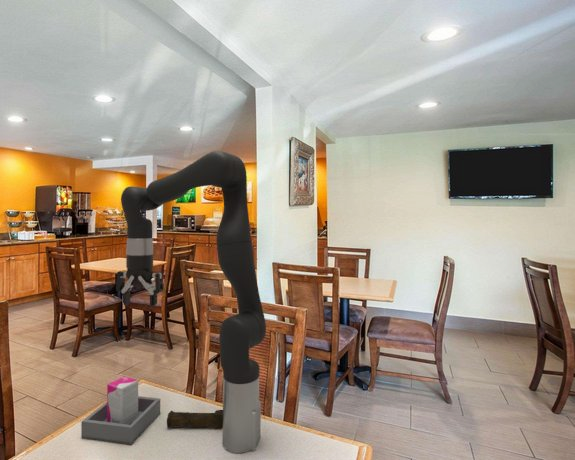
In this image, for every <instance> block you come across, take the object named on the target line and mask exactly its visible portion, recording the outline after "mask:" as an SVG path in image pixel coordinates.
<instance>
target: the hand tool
mask: <svg viewBox="0 0 575 460" xmlns="http://www.w3.org/2000/svg"><path fill="white" fill-rule="evenodd" d="M166 427H167V428H168V429H169V428H171V427H172V429H175V428H176V427H188V428H189V427H192V428H194V427H195V428H197V427H198V428H199V427H200V428H202V427H203V428H205V427H207V428H209V427H210V428H214V429H215V430H223V409H216V410H215V411H214V412H188V411H187V412H183V411H173V410H170V411H169V412H168V414H167V417H166Z"/></svg>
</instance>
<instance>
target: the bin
mask: <svg viewBox="0 0 575 460" xmlns="http://www.w3.org/2000/svg"><path fill="white" fill-rule="evenodd" d="M160 415H161V398H160V397H159V398H157V397H152V396H151V397H150V396H149V397H148V396H140V395H138V418H137V419H136V420H135V421H133V422H132V423H131V424H130V425H127V424H119V423H111V422H107V401H106V402H105V403H103V404H102V405H101V406H99V407H98V408H97V409H95V410H94V411H93V412H92V413H90V414H89V415H88V416H86V417H85V418H84V419H82V420H81V422H80V423H81V424H80V425H81V426H80V427H81V429H80V430H81V431H80V433H81V434H80V435H81V438H80V439H82V440H83V439H84V440H90V441H91V440H92V441H97V442H105V443H106V442H107V443H110V444H111V443H112V444H113V443H114V444H119V445H128V446H132V445H133V444H134V443H135V442H136V441H137V439H139V438H140V436H141V435H142V434H143V433H144V432H145V431H146V430H147V429H148V428H149V427H150V426H151V424H152V423H153V422H154V421H155V420H156V419H157V418H158V416H160Z"/></svg>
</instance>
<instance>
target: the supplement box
mask: <svg viewBox="0 0 575 460" xmlns="http://www.w3.org/2000/svg"><path fill="white" fill-rule="evenodd" d="M106 392H107V394H106V395H107V397H106V402H107V422H111V423H119V424H127V425H130V424H131V423H132V422H133V421H135V420H136V419H137V418H138V396H139V380H138V379H135V378H132V377H128V376H122V377H120V378H118V379H116V380H114V381H111V382H109V383H107V391H106Z"/></svg>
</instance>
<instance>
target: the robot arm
mask: <svg viewBox="0 0 575 460" xmlns="http://www.w3.org/2000/svg"><path fill="white" fill-rule="evenodd" d="M247 178H248V177H247V169H246V165H245V162H244V161H243V160H242V158H240V157H239V156H237V155H235V154H231V153H229V152H226V151H223V150H213V151H210V152H208V153H206V154H205V155H203V156H201V157H200V158H199V159H197V160H195V161H193V162H192V163H190V164H188V165H187V166H185V167H184V168H182V169H180V170H178V171H176V172H174V173H172V174H169V175H166V176H163V177H161V178H158V179H156V180H153V181H151V182H150V183H149V184H148V185H147V187H142V186H132V185H131V186H127V187H125V188H124V189H123V190H122V192H121V197H120V203H121V208H122V210H123V214H124V218H125V221H126V224H127V229H126V230H127V231H126V232H127V233H126V234H127V235H126V236H127V239H126V247H125V248H126V249H125V250H126V253H125V254H126V257H125V259H126V261H125V262H126V263H125V264H126V265H125V267H126V271H125V270H120V271H119V270H118V271H117V272H116V283H115V284H116V286H115V290H116V291H117V292H121V294H122V303H123V306H130V305H131V290H132V288H133V287H139V288H141V287H143V288H144V289H145V290H147V292H149V294H150V295H149V307H150V308H154V307H156V305H157V304H158V294H159V293H162V292H164V290H165V289H164V274H163V272H154V271H153V270H154V269H153V268H154V242H153V241H154V240H153V221H152V220H151V219H148V218H145V217H143V214H142V212H143V211H144V212H145V211H152V210H156V209H158V208H160V207H161V206H163V205H164V204H167V203H169V202H172V201H176V200H179V199H181V198H183V197H184V196H185V195H187V193H188V192H190V191H192V190H193V189H195V188H199V187H207V186H209V187H210V186H212V187H216V188H220V189H221V194H222V199H223V211H222V217H221V220H220V223H219V225H218V228H217V233H216V242H215V243H216V251H217V259H218V264H219V267H220V269H221V271H222V273H223V275H224V276H225V277H226V279H227V280H228V282H229V284H230V285H231V287H232V288H233V290H234V294H235V296H236V301H237V311H238V313H236V314H233V315H230V316H228V317H227V318H225V319H224V320H223V321H222V323H221V325H220V329H219V338H218V340H219V341H218V342H219V358H220V359H219V360H220V366H221V369H222V373H223V374H222V378H223V380H222V383H223V384H222V410H223V429H222V433H221V434H222V435H221V438H222V442H221V443H222V446H223V448H224V449H225V450H226V451H228V452H231V453H235V454H239V453H242V454H243V453H247V452H249V451H252V452H254V451H256V449H257V447H258V445H259V444H258V443H259V441H260V439H261V424H262V423H261V422H262V419H261V418H262V401H261V400H260V373H261V371H260V365H259V363H258V361H256V360H254V359H252V358H250V349H252V348H255V347H256V346H258V345H259V344H261V343H262V342H263V341H264V339H265V337H266V334H267V325H266V318H265V314H264V309H263V307H262V306H263V305H262V302H261V296H260V292H259V286H258V279H257V272H256V267H255V256H254V248H253V239H252V232H251V226H250V217H249V208H248V183H247V182H248V180H247ZM126 278H127V279H128V280H127V281H126ZM153 280H154V281H153Z"/></svg>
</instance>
